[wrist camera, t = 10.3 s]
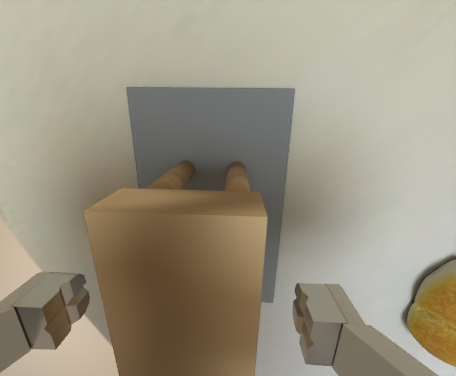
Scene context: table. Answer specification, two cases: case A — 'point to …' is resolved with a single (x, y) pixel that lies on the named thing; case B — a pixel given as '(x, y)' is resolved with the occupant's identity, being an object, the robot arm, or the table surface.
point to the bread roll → (436, 313)
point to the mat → (218, 144)
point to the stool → (181, 274)
